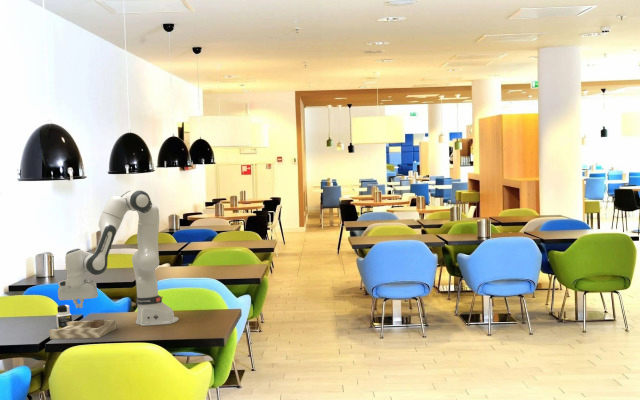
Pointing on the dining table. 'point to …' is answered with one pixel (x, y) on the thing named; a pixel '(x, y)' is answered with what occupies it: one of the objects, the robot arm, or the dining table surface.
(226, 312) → the dining table surface
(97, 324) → the walnut block
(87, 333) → the woven tray
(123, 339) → the dining table surface
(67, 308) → the medicine bottle
